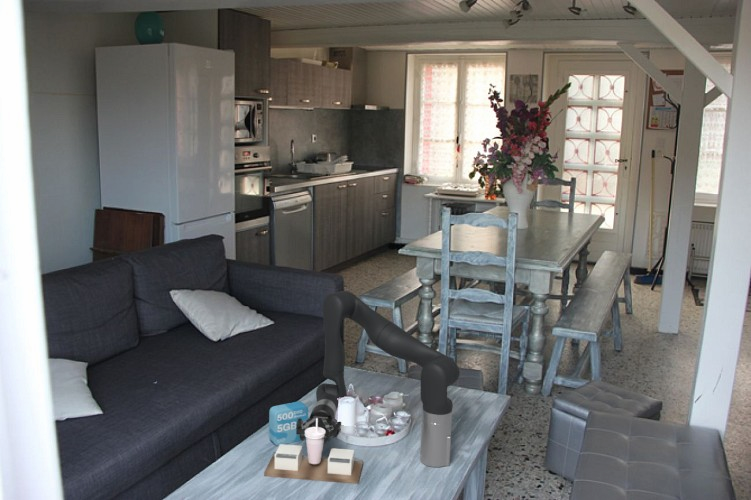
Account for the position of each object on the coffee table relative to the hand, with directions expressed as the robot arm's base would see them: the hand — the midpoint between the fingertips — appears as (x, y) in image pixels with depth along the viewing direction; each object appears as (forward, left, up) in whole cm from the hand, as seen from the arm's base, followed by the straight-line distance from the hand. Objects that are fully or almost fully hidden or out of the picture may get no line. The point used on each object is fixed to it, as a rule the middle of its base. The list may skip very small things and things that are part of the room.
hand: (313, 438), depth 205 cm
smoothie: (0, -2, -9) cm, 9 cm away
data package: (+12, -20, -11) cm, 26 cm away
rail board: (0, -2, -11) cm, 11 cm away
